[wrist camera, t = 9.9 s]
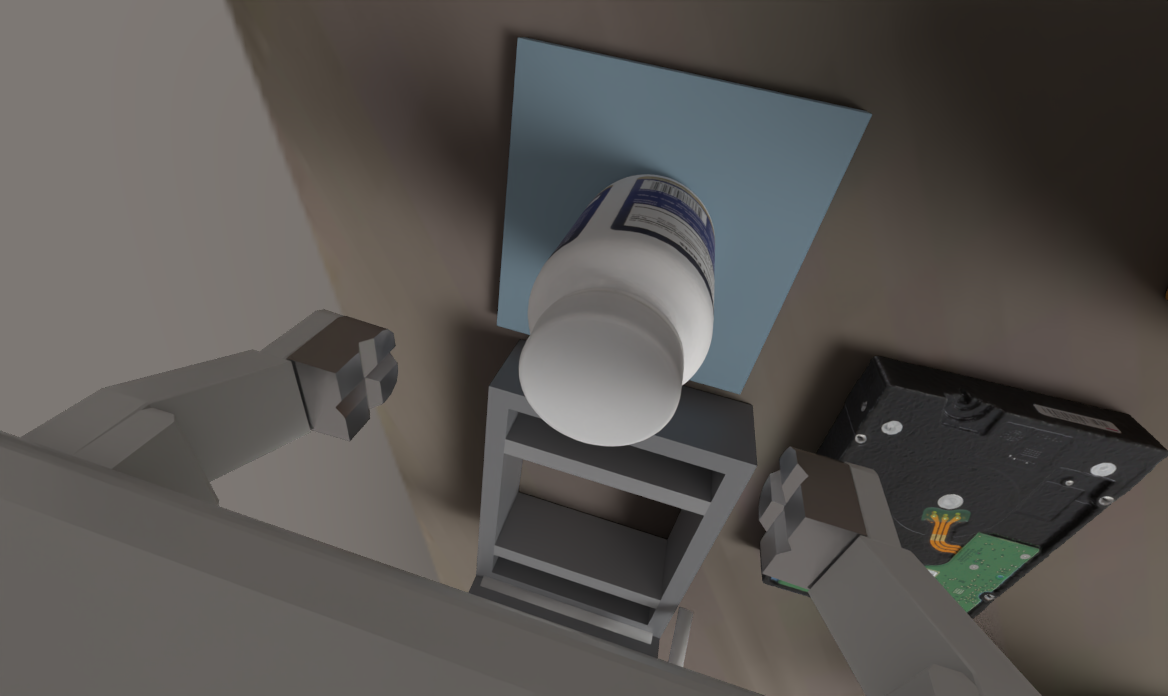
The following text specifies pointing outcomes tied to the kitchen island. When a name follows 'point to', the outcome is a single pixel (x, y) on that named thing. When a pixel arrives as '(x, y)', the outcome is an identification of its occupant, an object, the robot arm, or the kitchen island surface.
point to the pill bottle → (622, 313)
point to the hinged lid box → (596, 546)
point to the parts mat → (673, 177)
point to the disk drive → (983, 470)
